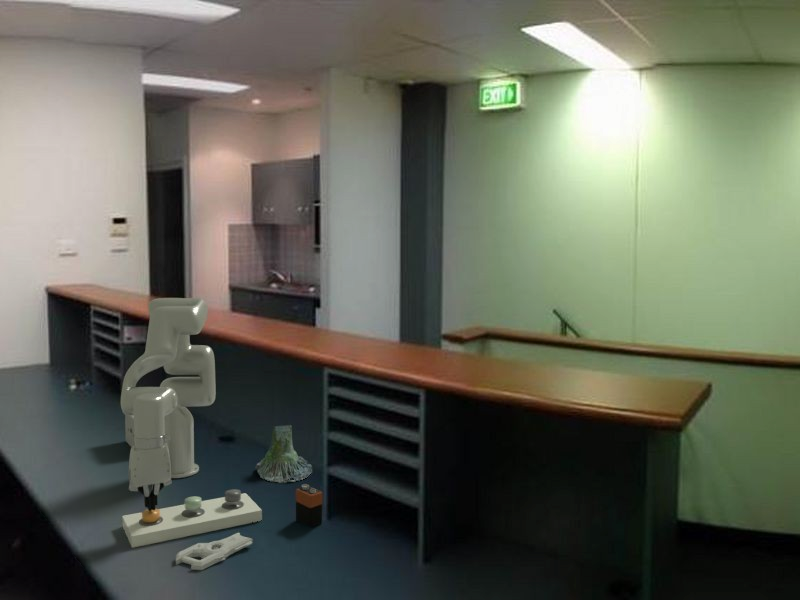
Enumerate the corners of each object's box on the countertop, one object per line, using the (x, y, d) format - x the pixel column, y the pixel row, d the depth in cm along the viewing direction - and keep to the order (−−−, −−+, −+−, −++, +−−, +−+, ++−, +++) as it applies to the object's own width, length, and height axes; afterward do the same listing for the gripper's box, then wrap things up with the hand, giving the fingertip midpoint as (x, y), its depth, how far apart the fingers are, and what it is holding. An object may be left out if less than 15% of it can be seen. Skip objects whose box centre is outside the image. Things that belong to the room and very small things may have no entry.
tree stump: (257, 487, 216) (254, 429, 218) (255, 480, 235) (251, 427, 237) (316, 480, 220) (311, 423, 223) (308, 473, 240) (304, 421, 242)
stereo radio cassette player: (161, 453, 245) (160, 398, 243) (137, 457, 240) (135, 401, 238) (145, 438, 262) (144, 386, 260) (122, 441, 257) (121, 389, 255)
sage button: (182, 505, 188) (182, 498, 188) (199, 502, 190) (199, 495, 190) (186, 511, 184) (186, 503, 184) (203, 507, 186) (203, 500, 186)
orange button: (140, 517, 182) (140, 510, 182) (157, 514, 185) (157, 507, 184) (143, 523, 179) (143, 516, 178) (161, 520, 181) (161, 513, 181)
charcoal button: (222, 497, 194) (222, 491, 193) (238, 495, 196) (238, 488, 196) (227, 503, 190) (227, 496, 190) (242, 500, 192) (242, 493, 192)
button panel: (122, 526, 185) (122, 515, 185) (245, 502, 202) (245, 492, 202) (132, 547, 173) (131, 535, 173) (261, 520, 190) (261, 509, 190)
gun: (230, 524, 180) (255, 535, 174) (230, 536, 180) (255, 548, 174) (169, 552, 166) (194, 566, 160) (169, 565, 166) (194, 580, 160)
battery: (307, 516, 194) (307, 481, 193) (322, 523, 189) (323, 488, 188) (294, 520, 191) (295, 485, 190) (310, 528, 186) (310, 492, 185)
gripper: (175, 433, 187) (176, 498, 189) (116, 441, 179) (118, 509, 181) (182, 441, 180) (183, 508, 182) (121, 450, 173) (123, 520, 175)
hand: (151, 508), depth 182 cm, fingers closed
